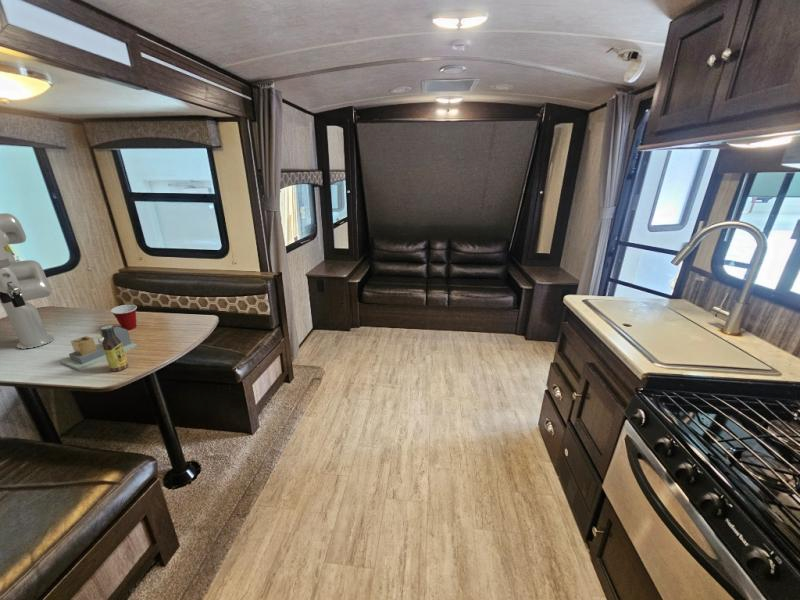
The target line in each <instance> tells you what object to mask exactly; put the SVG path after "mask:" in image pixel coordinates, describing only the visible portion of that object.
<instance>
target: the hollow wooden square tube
mask: <svg viewBox="0 0 800 600" xmlns="http://www.w3.org/2000/svg"><path fill="white" fill-rule="evenodd" d="M81 341H83V342H81ZM70 345H72V349H73V351H74V352H75V353H76V354H79V355H81V356H84V355H86V354H89V353H91V352H94V351H96V350H97V347H98V346H97V345H96V343H95V339H94V338H93V337H90V336H88V335H85V336H82V337H80V338H76V339H73V340H71V341H70ZM96 346H97V347H96Z"/></svg>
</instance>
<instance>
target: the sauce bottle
mask: <svg viewBox="0 0 800 600" xmlns="http://www.w3.org/2000/svg"><path fill="white" fill-rule="evenodd" d="M100 332H102V333H103V337H104V340H103V342H102V343H101V345H103V348H104V352H105V355H106V358H107V359H106V361H107V364H108V366H109V368H110V370H111V371H112V372H119V371H124V370H125V369H127V368H128V367H129V361H128V357H127V354H126V351H124V348H123V345H122V342H121V341H120V340H119V338H118V337H117V336H116V334H115V333H114V326H113V325H104V326H102V327H100Z"/></svg>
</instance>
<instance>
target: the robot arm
mask: <svg viewBox="0 0 800 600" xmlns="http://www.w3.org/2000/svg"><path fill="white" fill-rule="evenodd" d="M26 241H27V236H26V233H25V230H24V227H22V224H21V223H20V221H19V220H18V218H17V217H16V216H15V215H13V214H11V213H8V212H7V213H0V304H1V305H2V307H3V309H4V311H5V313H6V315H7V317H8V319H9V321H10V324H11V326H12V328H13V330H14V332H15V334H16V336H17V339H18V340H19V342H18V343H17V344H16V347H18V348H17V349H19V348H21V349H20V350H27V349H26V348H31V349H34V348H33V347H36V348H38V347H37V346H40V347H42V346H41V345H43V344H46V343H48V344H50V343H52V342H53V341H54V340H55V336H54V335H51V334H48V332H47V329H46V327H45V325H44V322H43V320H42V317H41V315H40V313H39V311H38V308H37V307H36V306H35V305H33V304H31V303H30V302H28V301H31V300H37V299H43V298H47V297H49V296H51V294H52V289H51V286H50V283H49V280H48V278H47V276H46V274H45V271H44V269H43V267H42V265H41V264H40V263H39V262H38V261H36V260H32V259H27V260H19V261H17V260H16V258H15V255H13V253H11V252H10V251H7V250H5V247H6V246H8V245H16V244H17V245H18V244H23V243H25V242H26ZM51 341H52V342H51ZM49 342H50V343H49ZM46 345H47V344H46ZM43 346H44V345H43Z"/></svg>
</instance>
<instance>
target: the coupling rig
mask: <svg viewBox="0 0 800 600" xmlns="http://www.w3.org/2000/svg"><path fill="white" fill-rule="evenodd" d="M113 328H114V333H115V334H116V336H117V337H118V338H119V340H120V341H121V342H122V345H123V348H124V351H125V352H127V351H129V350H132V349H134V348H137V347H138V345H137V344H136V343H133V342H132V341H131V338H130V335H129V332H128V331H129V330H126V329H123V328H122V327H119V326H115V327H114V326H113ZM100 337H101V338H99V339H97V342H98V343H99V344H101V345H99V346H97V345H96V347H97V350H96V351H94V352H91V353H89V354H86V355H84V356H81V355H79V354H76V353H75V351H74V352H71V353H69V354H68V356H69V357H67V358H64V359H62V360H60V362H61V364H63V365H65V366H67V367H70V368H72V369H74V370H76V371H79V372H80V371H83V370H85V369H87V368H89V367H92V366H94V365H96V364H99V363H103V362H104V361H107V358H106V355H105V352H104V348H103V345H102V342H103V340H104V337H103V333H102V332H101V331H100ZM81 342H83V341H81Z"/></svg>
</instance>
